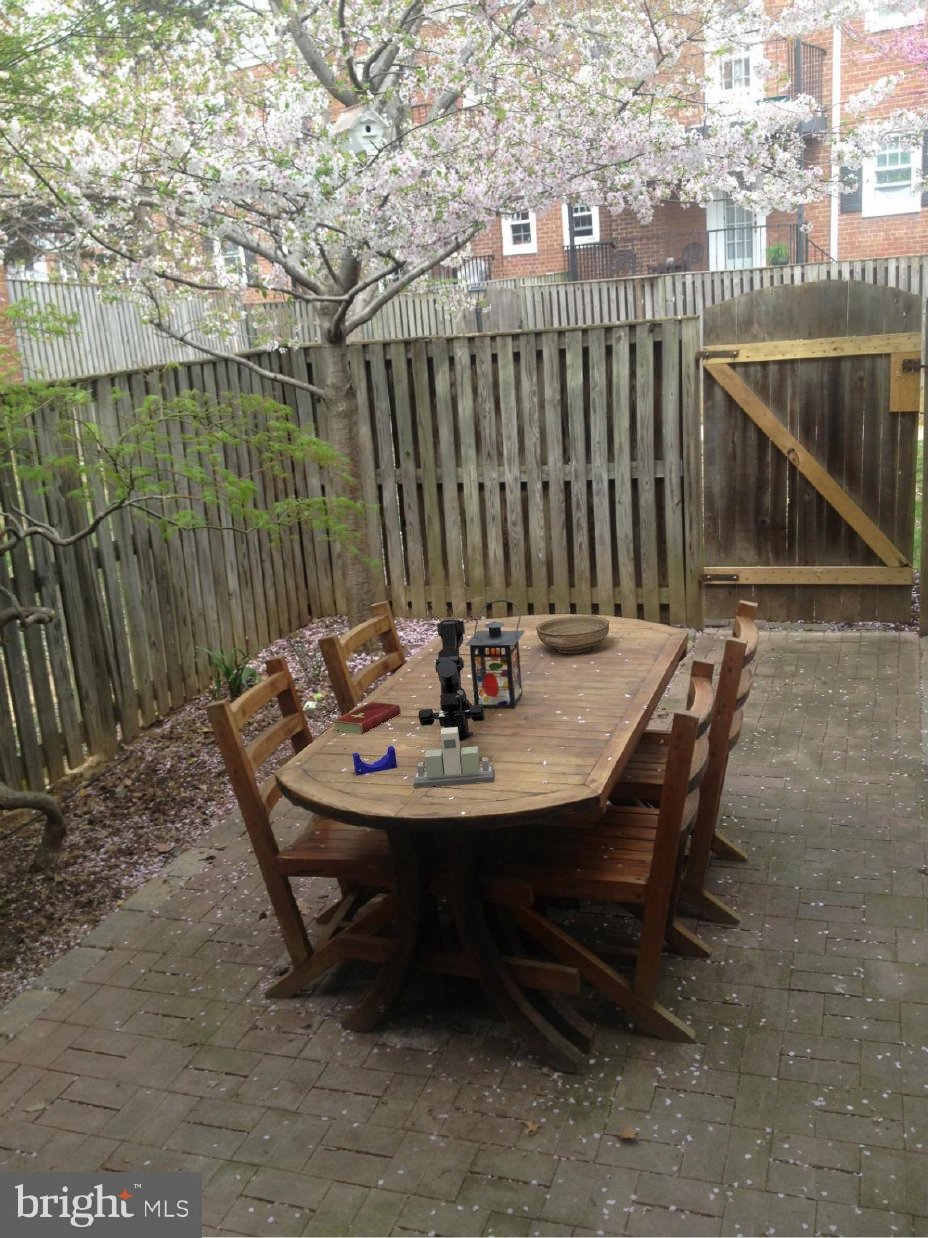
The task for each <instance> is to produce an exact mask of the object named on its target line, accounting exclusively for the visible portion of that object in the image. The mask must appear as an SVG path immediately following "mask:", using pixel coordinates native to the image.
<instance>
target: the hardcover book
mask: <svg viewBox="0 0 928 1238" xmlns="http://www.w3.org/2000/svg"><path fill="white" fill-rule="evenodd" d="M401 711H402V710H401V705H400V704H398V703H397V704H396V703H390V702H389V703H388V702H379V701H370V702H368V703H366V704H364V705H362V706H360V707H358V708H355V709H354V710H352V711H350V712H348V713H346V714H344V715H342V716H340V717H338V718H336V719H333V720H332V723H334V730H335V729H337V730H341V731H344V732H343V733H348V732H354V733H353V734H356V733H360V734H359V735H361V736H362V735H364V734H366V733H368V732H370V731H371V730H370V729H372V728H374V729H376V728H378V727H379V726H378V725H380V724H381V723H383V724H385V723H387V722H389V721H390V720H389V719H391V720H393V719H395V718H396V717H395V716H397V715H399V714H400V715H401V713H402V712H401ZM400 715H399V716H400ZM394 717H395V718H394ZM397 717H398V716H397ZM392 718H393V719H392ZM388 720H389V721H388ZM386 721H387V722H386ZM384 722H385V723H384ZM381 725H382V724H381ZM381 725H380V726H381ZM377 726H378V727H377ZM375 727H376V728H375ZM369 730H370V731H369ZM372 730H373V729H372ZM341 731H340V732H341ZM365 732H366V733H365ZM363 733H364V734H363Z"/></svg>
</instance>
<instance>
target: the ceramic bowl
mask: <svg viewBox="0 0 928 1238" xmlns="http://www.w3.org/2000/svg"><path fill="white" fill-rule="evenodd" d="M535 629H536V634H537V637H538V639H539V641H540V642H541V643H543V644H544V645H545V646H546V647H550V648H552V649H555V650H556V649H557V652H559V653H561V654H567V653H573V654H580V653H585V652H588V651H590V650H591V649H592V647H594V646H595V645H598V644H601V642H603V641H604V640H605V639H606V638H607V636H608V634H609V632H610V621H609V620H608V619H607V618H604V617H601V616H597V615H595V614H593V615H572V616H562V617H558V618H557V617H555V618H551V619H548V620H545V621H543V622H540V623H539V624H537V625H536V627H535Z"/></svg>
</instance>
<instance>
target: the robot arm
mask: <svg viewBox="0 0 928 1238" xmlns="http://www.w3.org/2000/svg"><path fill="white" fill-rule="evenodd" d="M436 626H437V635H438V637H440V639H441V643H442V649H440V650H439V651H438V652H437V653H438V654H437V659H436V660H435V667H434V668H435V669H434V670H435V673H437V676H438V680H439V683H440V694H439V697H440V702H439V705H440V707H439V709H440V710H441V711H438V712H433V708H423V709H419V711H418V720H419V724H420V726H423V727H425V726H433V724H434V723H435V720H438V722H439V726H440V727H442V728H451V727H458V734H459V741H464V740H466V739H467V738H469V737H470V736H472V735H474V732H473V731H471V732H470V731H469V722H468V721H469V720H470V719H471V720H472V721H473V722H483V721H485V719H486V717H485V715H486V714H485V708H484V706H483V705H482V704H473V705H472V703H471V702H470V700H469V699H468V697H467V694H466V691H465V689H464V688H462V677H461V672H462V671H463V669H464V668H465V660H464V659H463V657H462V656H460V648H461V646H462V644H463V642H464V635H465V634H466V629H465V628H466V626H465V622H464V621H463V620H460V619H454V618H453V619H443V620H442V621H440V622H438V623H437V625H436Z"/></svg>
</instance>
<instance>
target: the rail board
mask: <svg viewBox="0 0 928 1238" xmlns="http://www.w3.org/2000/svg"><path fill="white" fill-rule="evenodd" d="M460 753H461V763H462V772H461V774H456V775H445V770H444V760H443V751H442V748H441V749H429V750H428V749H427V750H425V755H424V760H425V761H423V762H421V761H420V762H417V765H416V767H417V770H416V771H415V775H414V779H413V780H414V781H413V788H414V789H419V788H418V787H424V786H437V787H447V786H446V785H448V786H460V785H459V784H462V785H471V784H470V783H475V784H478V783H477V782H487V783H494V782H495V781H494V779H495V768H494V767H495V766H494V764H489V759H488V758H489V757H488V756H487V757H486V756H485V757H482V758H481V764H482V765H481V764H480V756H479V755H480V754H479V746H477V745H476V746H467V747H465V746H464V747H461V749H460ZM424 763H425V764H424ZM424 788H425V787H424Z"/></svg>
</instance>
